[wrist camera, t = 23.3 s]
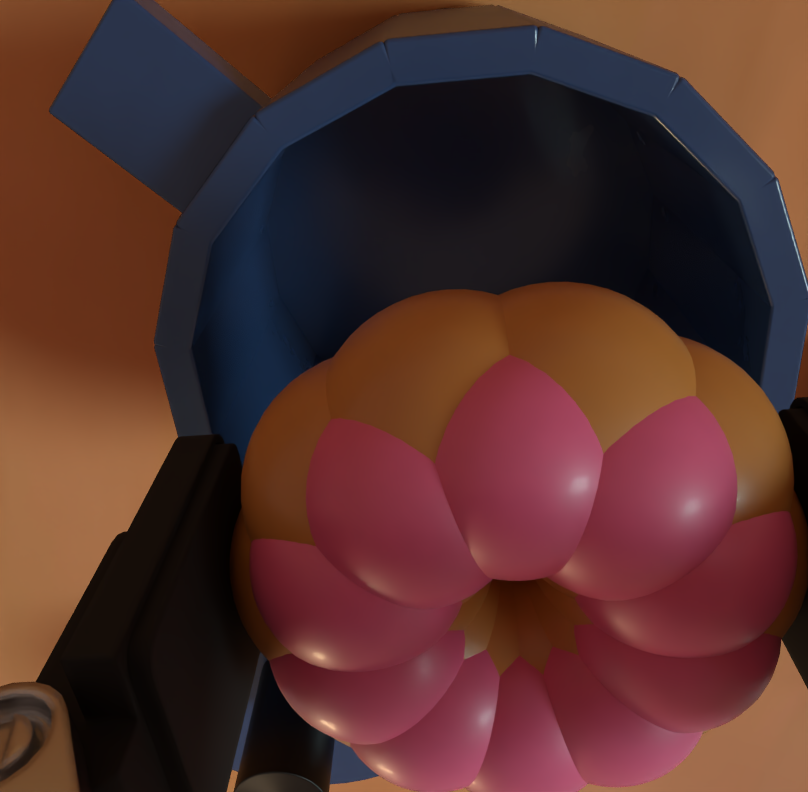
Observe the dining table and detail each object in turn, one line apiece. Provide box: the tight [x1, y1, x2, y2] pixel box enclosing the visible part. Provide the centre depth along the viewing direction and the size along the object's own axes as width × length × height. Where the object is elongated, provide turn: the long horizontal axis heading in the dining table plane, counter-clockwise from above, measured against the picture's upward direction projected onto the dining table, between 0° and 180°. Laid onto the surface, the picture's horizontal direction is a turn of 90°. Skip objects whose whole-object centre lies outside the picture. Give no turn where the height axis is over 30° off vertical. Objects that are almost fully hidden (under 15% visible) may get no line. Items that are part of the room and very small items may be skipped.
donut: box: [229, 282, 808, 792], centre depth 10 cm, size 7×7×4 cm
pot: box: [49, 0, 808, 469], centre depth 18 cm, size 12×17×8 cm
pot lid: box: [232, 652, 379, 792], centre depth 27 cm, size 13×13×6 cm
